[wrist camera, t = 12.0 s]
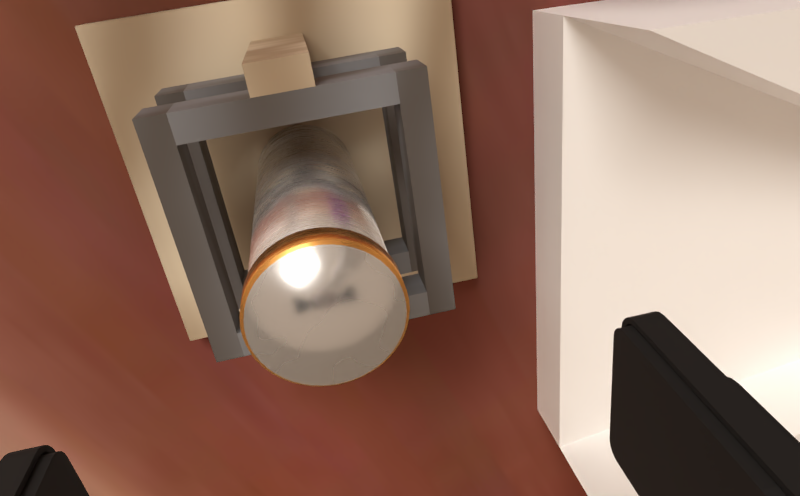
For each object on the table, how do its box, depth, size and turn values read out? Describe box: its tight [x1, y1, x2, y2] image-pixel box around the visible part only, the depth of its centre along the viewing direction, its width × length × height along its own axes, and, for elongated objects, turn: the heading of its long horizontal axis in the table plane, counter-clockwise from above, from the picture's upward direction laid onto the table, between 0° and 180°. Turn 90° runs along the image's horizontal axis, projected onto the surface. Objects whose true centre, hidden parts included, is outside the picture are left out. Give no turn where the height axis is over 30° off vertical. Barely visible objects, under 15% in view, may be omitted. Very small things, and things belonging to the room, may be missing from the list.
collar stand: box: [75, 0, 478, 362], centre depth 23 cm, size 14×14×7 cm
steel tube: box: [239, 125, 410, 386], centre depth 20 cm, size 4×4×12 cm
